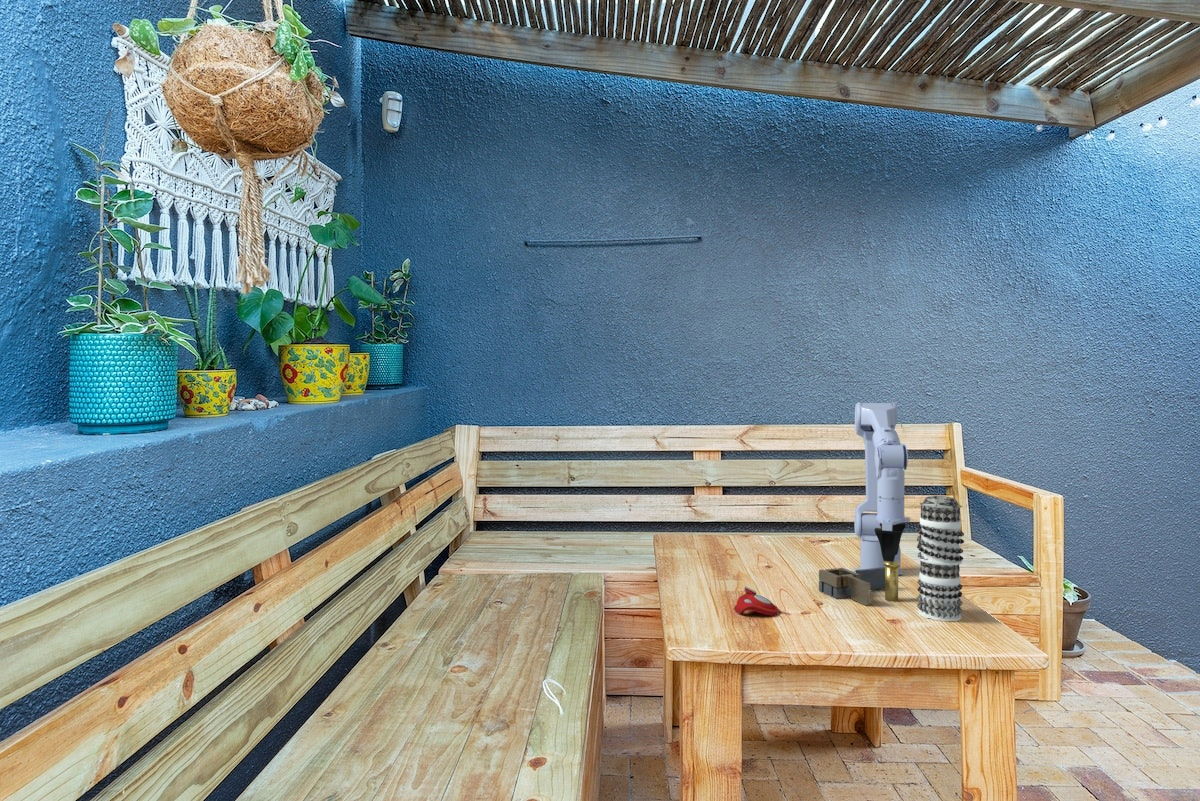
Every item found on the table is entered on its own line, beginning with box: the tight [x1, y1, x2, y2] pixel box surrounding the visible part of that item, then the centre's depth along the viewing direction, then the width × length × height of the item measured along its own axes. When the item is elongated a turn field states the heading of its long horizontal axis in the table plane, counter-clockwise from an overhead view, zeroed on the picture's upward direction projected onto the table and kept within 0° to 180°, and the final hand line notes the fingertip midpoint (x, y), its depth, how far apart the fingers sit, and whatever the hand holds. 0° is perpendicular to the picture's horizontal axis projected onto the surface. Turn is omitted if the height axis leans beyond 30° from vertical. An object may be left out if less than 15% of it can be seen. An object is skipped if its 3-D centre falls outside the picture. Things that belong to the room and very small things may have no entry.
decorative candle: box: [915, 495, 965, 622], centre depth 152 cm, size 9×9×25 cm
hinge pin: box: [883, 561, 901, 602], centre depth 163 cm, size 4×4×9 cm
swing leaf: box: [818, 567, 871, 606], centre depth 165 cm, size 13×7×5 cm, turn 19°
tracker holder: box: [733, 585, 780, 617], centre depth 157 cm, size 12×4×10 cm
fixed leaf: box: [818, 567, 885, 600], centre depth 170 cm, size 16×7×5 cm, turn 109°
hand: (890, 557), depth 163 cm, fingers open, 7 cm apart
